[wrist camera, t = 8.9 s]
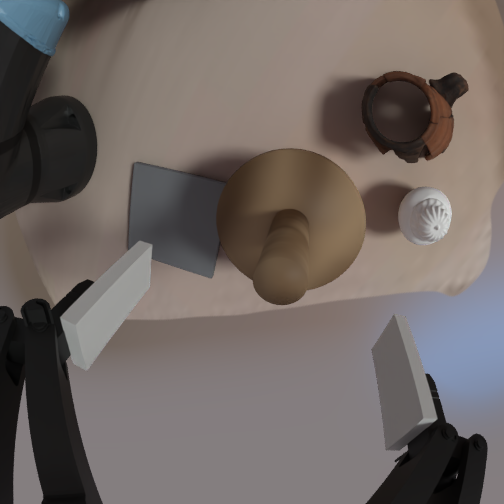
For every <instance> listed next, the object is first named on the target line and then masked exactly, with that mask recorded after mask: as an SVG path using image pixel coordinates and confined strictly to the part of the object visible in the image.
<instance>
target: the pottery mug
mask: <svg viewBox="0 0 504 504" xmlns="http://www.w3.org/2000/svg"><path fill="white" fill-rule="evenodd" d="M393 81H405V82H409V83H411V84H414V85H415V86H417V87H418V88H419V89H420V90H422V91H423V93H424V94H425V96H426V97H427V99H428V101H429V104H430V110H431V117H430V122H429V125H428V127H427V129H426V130H425V132H424V133H423V134H422V135H421V136H420V137H419V138H417V139H416V140H413V141H410V142H395V141H392V140H389V139H388V138H386V137H385V136H383V135H382V134H381V133H380V132H379V130H378V129H377V127H376V126H375V124H374V121H373V118H372V102H373V99H374V97H375V95H376V93H377V91H378V89H379V88H380V87H381V86H382V85H384V84H385V83H387V82H393ZM429 84H430V86H429V85H427V84H426V80H425V79H423V78H421V77H419V76H415V75H412V74H410V73H407V72H401V71H393V72H389V73H386V74H384V75H383V76H380V77H379V78H377V79H376V80H375V81H374V82H373V83H372V84H371V85H369V86H368V87H367V89H366V91H365V93H364V97H363V100H362V118H363V123H364V124H365V126H366V131H367V133H368V135H369V137H370V138H371V139H372V140H373V142H374V143H375V145H376V146H377V148H378V149H379V151H380V152H381V153H382V154H385V153H386V152H388V151H389V150H394V152H395V154H396V155H397V156H398V157H399V158H401V159H404V160H405V161H406V162H407V163H416V162H418V157H419V156H420V153H421V151H422V149H423V147H424V146H425V145H426V147H427V148H428V150H429V152H430V153H428V154H426V155H425V156H426V157H425V159H426V160H431V159H433V158H435V157H436V156H438V155H439V154H441V153H443V152H444V151H445V150H446V149H447V147H448V145H449V143H450V141H451V139H452V133H453V128H454V118H453V115H452V110H451V108H452V106H453V104H454V102H455V101H456V99H458V98H459V97H461V96H462V95H463V94H465V93H466V92H467V91H468V84H467V81H466V80H465V79H464V78H463V77H462V76H461V75H459V74H457V73H450V74H448V75H446V76H444V77H443V78H441V79H439V80H432V79H430V80H429Z"/></svg>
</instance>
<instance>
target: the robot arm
mask: <svg viewBox="0 0 504 504" xmlns="http://www.w3.org/2000/svg"><path fill="white" fill-rule="evenodd" d="M68 19H69V9H68V6H67V5H66V4H65V3H64V2H63V1H61V0H0V219H1V218H3V217H4V216H6V215H8V214H10V213H12V212H14V211H15V210H17V209H19V208H21V207H23V206H25V205H27V204H29V203H44V202H61V201H64V200H67V199H69V198H71V197H73V196H75V195H77V194H78V193H80V192H81V191H82V190H83V189H84V188H85V187H86V185H87V184H88V182H89V180H90V178H91V176H92V174H93V171H94V167H95V163H96V157H97V138H96V131H95V127H94V124H93V121H92V118H91V116H90V114H89V112H88V110H87V109H86V108H85V106H84V105H83V104H82V103H81V102H80V101H78V100H77V99H75V98H73V97H70V96H53V97H48V98H45V99H43V100H41V101H39V102H38V103H36V104H34V105H32V106H31V104H32V101H33V99H34V96H35V93H36V91H37V88H38V86H39V83H40V81H41V78H42V76H43V74H44V71H45V69H46V67H47V64H48V62H49V60H50V58H51V56H53V55H54V54H55V52H56V50H55V47H56V45H57V43H58V41H59V39H60V36H61V34H62V32H63V30H64V28H65V26H66V24H67V22H68ZM151 257H152V244H149V243H146V242H143V241H138V242H137V243H136V244H135V245H134V246H133V247H132V248H131V249H130V250H128V251H127V252H126V253H125V254H124V255H123V256H122V257H121V258H120V259H119V260H118V261H117V262H115V263H114V264H113V265H112V266H111V267H110V268H109V269H108V270H107V271H106V272H105V273H104V274H103V275H102V276H101V277H100V278H99V279H98V280H96V281H95V282H93V281H91V280H88V279H87V280H85V281H83V282H81V283H79V284H77V285H76V286H75V287H74V288H73V289H72V290H71V291H70V292H69V293H68V294H67V295H66V297H64V298H63V299H62V300H61V301H60V302H59V303H58V304H57V305H56V306H55V307H53V309H52V310H51V308H50V305H49V303H48V302H47V301H46V300H43V299H32V300H29V301H27V302H26V303H25V304H24V305H23V306H22V308H21V314H22V317H23V319H21V318H17V317H14V314H13V311H12V309H10V308H9V307H7V306H0V504H13V467H14V450H15V439H16V429H17V421H18V414H19V407H20V401H21V395H22V390H23V385H24V380H25V381H26V382H25V383H26V398H27V410H28V419H29V427H30V434H31V440H32V447H33V452H34V458H35V462H36V467H37V471H38V476H39V480H40V484H41V488H42V491H43V501H42V504H103V503H102V501H101V498H100V496H99V493H98V490H97V487H96V485H95V482H94V479H93V476H92V473H91V470H90V467H89V464H88V460H87V457H86V454H85V450H84V447H83V443H82V439H81V435H80V431H79V427H78V423H77V418H76V414H75V409H74V404H73V399H72V393H71V387H70V381H69V375H68V367H67V363H66V360H67V359H68V358H69V356H70V355H71V358H72V362H73V364H75V365H77V366H79V367H81V368H83V369H85V370H88V369H89V367H90V366H91V365H92V363H93V362H94V360H95V359H96V358H97V356H98V355H99V353H100V352H101V351H102V349H103V348H104V347H105V345H106V344H107V342H108V341H109V340H110V338H111V337H112V336H113V334H114V333H115V332H116V330H117V329H118V328H119V326H120V325H121V324H122V322H123V321H124V320H125V318H126V317H127V316H128V315H129V313H130V312H131V311H132V309H133V308H134V307H135V305H136V304H137V303H138V302H139V300H140V299H141V298H142V296H143V295H144V294H145V293H146V291H147V290H148V289H149V288H150V275H151ZM372 355H373V360H374V365H375V371H376V378H377V384H378V390H379V397H380V404H381V412H382V419H383V428H384V437H385V447H386V450H400V449H402V448H403V447H405V446H406V445H408V451H407V452H405V453H404V454H403V455H402V456H400V457H399V458H397V459H396V460H395V462H397V461H398V460H399V462H398V463H397V465H396V466H395V468H394V469H393V470H392V471H391V473H390V474H389V476H388V477H387V478H386V480H385V481H384V482H383V483H382V485H381V486H380V487H379V488H378V490H377V491H376V492H375V493H374V495H373V496H372V497H371V498H370V499H369V501H368V502H367V503H366V504H480V498H481V494H482V488H483V482H484V475H485V468H486V460H487V443H486V440H485V439H484V437H483V436H481V435H480V434H474V435H472V436H471V437H470V438H469V439H466V438H463V437H460V436H458V433H457V431H456V429H455V428H454V427H453V426H452V425H451V424H449V423H446V420H445V416H444V413H443V409H442V405H441V402H440V399H439V395H438V393H437V388H436V385H435V382H434V380H433V379H432V377H431V376H430V374H425V372H424V369H423V365H422V362H421V359H420V356H419V353H418V350H417V347H416V344H415V341H414V338H413V336H412V333H411V330H410V327H409V325H408V322H407V319H406V317H404V316H401V315H397V314H394V315H393V317H392V318H391V320H390V322H389V323H388V325H387V326H386V328H385V330H384V331H383V333H382V334H381V336H380V338H379V339H378V341H377V342H376V344H375V345H374V347H373V348H372ZM457 474H458V476H457V479H456V475H457Z"/></svg>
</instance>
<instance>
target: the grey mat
mask: <svg viewBox="0 0 504 504" xmlns="http://www.w3.org/2000/svg"><path fill="white" fill-rule="evenodd" d="M225 185H226V183H225V182H221V181H217V180H213V179H209V178H205V177H201V176H197V175H193V174H189V173H185V172H181V171H177V170H172V169H168V168H164V167H159V166H155V165H150V164H146V163H141V162H136V163H134V171H133V181H132V192H131V205H130V221H129V245H128V250H130V249H131V248H132V247H133V246H134V245H135V244H136V243H137V242H138V241H143V242H146V243H149V244H152V257H151V259H153V260H156V261H159V262H162V263H165V264H168V265H171V266H174V267H177V268H180V269H183V270H186V271H190V272H193V273H196V274H199V275H202V276H205V277H208V278H211V279H212V277H213V275H214V270H215V265H216V260H217V255H218V250H219V245H220V239H219V236H218V232H217V225H216V213H217V205H218V202H219V198H220V195H221V193H222V191H223V188H224V187H225Z"/></svg>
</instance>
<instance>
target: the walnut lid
mask: <svg viewBox="0 0 504 504" xmlns="http://www.w3.org/2000/svg"><path fill="white" fill-rule="evenodd" d="M216 225H217V232H218V236H219V239H220V242H221V245H222V247H223V249H224V251H225V253H226V255H227V256H228V258H229V259H230V260H231V262H232V263H233V264H234V265H235V266H236V267H237V269H238V270H239V271H241V272H242V273H243V274H244V275H246V276H247V277H248V278H250V279H251V280H253V285H254V288H255V290H256V292H257V293H258V295H259V296H260V297H261V298H263V299H264V300H265V301H267V302H269V303H272V304H276V305H288V304H291V303H294V302H296V301H298V300H299V299H300V298H301V297H302V296H303V295H304V294H305V292H306V290H310V289H315V288H318V287H321V286H323V285H325V284H327V283H329V282H331V281H333V280H334V279H336V278H338V277H339V276H340V275H341V274H343V273H344V272H345V271H346V270H347V269H348V268H349V267H350V265H351V264H352V263H353V261H354V260H355V259H356V257H357V255H358V253H359V251H360V249H361V247H362V244H363V241H364V237H365V231H366V215H365V209H364V205H363V201H362V199H361V196H360V194H359V192H358V190H357V188H356V186H355V185H354V183H353V182H352V180H351V179H350V178H349V176H348V175H347V174H346V173H345V172H344V171H343V170H342V169H341V168H340V167H339V166H338V165H337V164H335V163H334V162H332V161H331V160H329V159H328V158H326V157H324V156H322V155H319V154H317V153H314V152H311V151H307V150H303V149H292V148H291V149H278V150H273V151H269V152H266V153H263V154H261V155H259V156H257V157H255V158H253V159H251V160H250V161H248V162H247V163H245V164H244V165H243V166H242V167H240V168H239V169H238V170H237V171H236V172H235V173H234V174H233V175H232V177H231V178H230V179H229V180H228V182H227V183H226V185H225V187H224V188H223V191H222V193H221V195H220V198H219V202H218V205H217V213H216Z"/></svg>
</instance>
